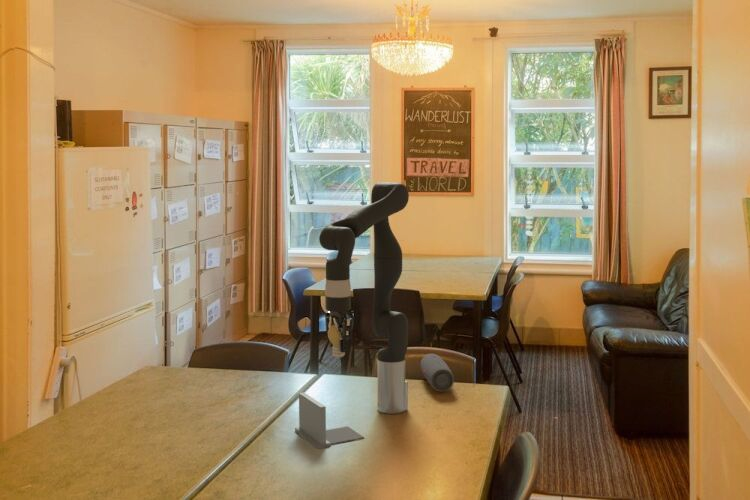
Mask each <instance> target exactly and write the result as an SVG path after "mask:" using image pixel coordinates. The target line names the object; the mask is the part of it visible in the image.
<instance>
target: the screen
mask: <svg viewBox="0 0 750 500" xmlns="http://www.w3.org/2000/svg"><path fill="white" fill-rule="evenodd" d="M326 408H327V407H326V405H324V404H322V403H321V402H319V400H316V399H315V398H314V397H311V396H310V395H309V394H307V393H305V392H304V391H303V392H299V393H298V415H299V417H298V418H299V419H298V421H299V423H298V425H299V427H294V430H295V432H296V434H298V435H300V436H301V437H302V438H304V439H305V440H306V441H307V442H309V443H310V444H311V445H312V446H313V447H315V448H316V449H323V448H328V447H331V443H330V442H329V441H327V440H326V430H327V427H326V426H327V421H326V420H327V419H326V418H327V417H326V415H327V414H326V413H327V410H326Z"/></svg>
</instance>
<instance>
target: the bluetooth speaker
mask: <svg viewBox="0 0 750 500" xmlns="http://www.w3.org/2000/svg"><path fill="white" fill-rule="evenodd" d="M420 369H421V372H422V374H423V376H424V378H425V379H426V381H427V382H428V383H429V385H430V387H432V388H433V390H435V391H438V392H442V393H443V392H447V391H449V390H450V389H452V387H453V386H454V383H455V377H454V374H453V372H452V371H451V369H450V367H449V366H448V364H447V362H445V361H444V360H443V359H442V358H441V356H439V355H437V354H435V353H427V354H425V355H424V356H423V357H422V359H421V361H420Z"/></svg>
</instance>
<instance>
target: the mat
mask: <svg viewBox="0 0 750 500" xmlns="http://www.w3.org/2000/svg"><path fill="white" fill-rule="evenodd" d="M363 439H365V437H364V436H363V435H361V434H360V433H359V432H357V431H356V430H354V429H352V428H351V427H349V426H347V425H346V426H342V427H336V428H331V429H326V440H327V441H329V442H330V443H331V445H333V446H334V445H337V444H342V443H347V442H352V441H358V440H363Z"/></svg>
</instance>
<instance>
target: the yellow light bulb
mask: <svg viewBox="0 0 750 500" xmlns="http://www.w3.org/2000/svg"><path fill="white" fill-rule="evenodd" d="M340 329H343V328H340ZM348 332H349V331H348ZM342 333H343V332H342ZM327 337H328V340H329V342H330V341H331V343H332V344H333V346H332V347H331V348H332V350H331V351H332V356H333V357H334V358H343V357H344V356H345V355H346V352H340V337H339V333H338V332H337V331H336V326H335V324H333V325H332V326H331V327H330V328H329V330H328V332H327Z"/></svg>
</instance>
